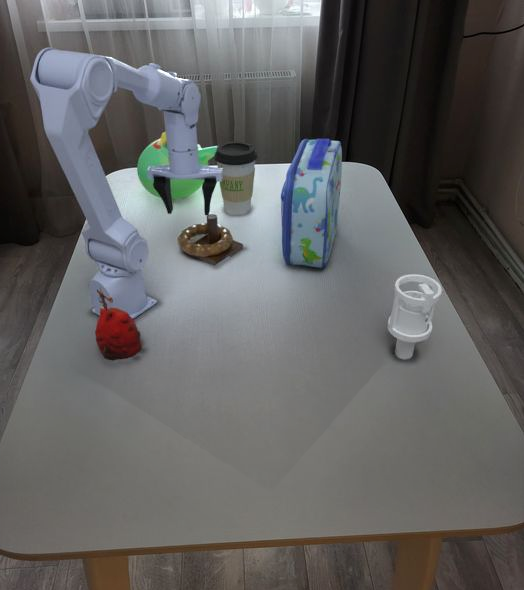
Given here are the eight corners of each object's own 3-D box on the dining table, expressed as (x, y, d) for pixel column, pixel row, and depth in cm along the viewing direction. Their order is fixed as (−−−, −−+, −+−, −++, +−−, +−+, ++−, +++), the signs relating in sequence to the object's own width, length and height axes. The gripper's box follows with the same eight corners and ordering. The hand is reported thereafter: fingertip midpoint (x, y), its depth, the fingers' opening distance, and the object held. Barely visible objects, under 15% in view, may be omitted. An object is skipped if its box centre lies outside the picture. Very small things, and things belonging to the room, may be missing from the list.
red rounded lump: (150, 345, 97) (137, 272, 87) (130, 371, 92) (114, 297, 82) (112, 335, 99) (96, 263, 89) (90, 360, 94) (70, 287, 84)
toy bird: (180, 174, 150) (174, 118, 141) (226, 192, 142) (223, 134, 133) (128, 197, 140) (118, 139, 130) (175, 218, 132) (168, 157, 122)
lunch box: (295, 213, 133) (298, 125, 120) (339, 218, 132) (348, 128, 118) (275, 273, 114) (276, 175, 100) (327, 278, 113) (336, 180, 99)
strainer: (393, 370, 92) (409, 297, 82) (376, 344, 97) (388, 271, 87) (432, 363, 94) (451, 289, 84) (412, 337, 99) (429, 265, 89)
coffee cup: (211, 204, 137) (207, 144, 127) (247, 197, 140) (246, 137, 130) (226, 222, 130) (223, 159, 120) (264, 214, 133) (264, 152, 124)
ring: (222, 261, 115) (222, 251, 114) (170, 254, 117) (169, 244, 116) (239, 234, 124) (238, 225, 122) (190, 228, 126) (189, 218, 124)
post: (216, 266, 116) (214, 231, 111) (184, 253, 120) (181, 218, 115) (243, 248, 121) (242, 214, 116) (212, 236, 126) (209, 202, 120)
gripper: (223, 139, 108) (226, 204, 117) (149, 137, 109) (158, 202, 117) (218, 154, 102) (221, 220, 111) (140, 151, 103) (150, 218, 112)
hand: (188, 212), depth 114 cm, fingers open, 7 cm apart
